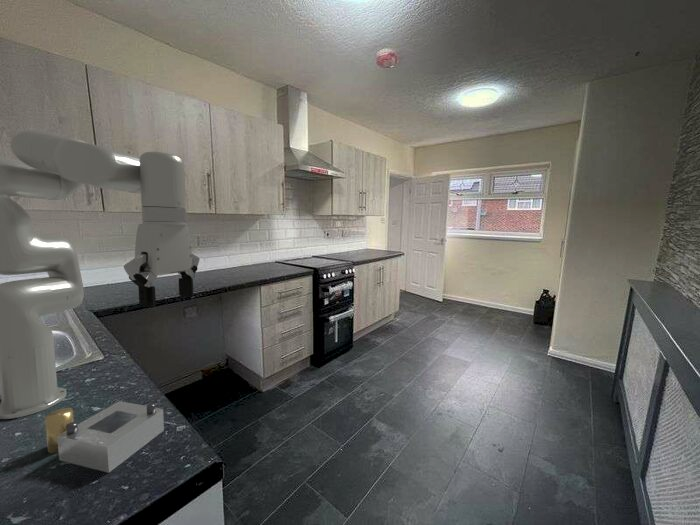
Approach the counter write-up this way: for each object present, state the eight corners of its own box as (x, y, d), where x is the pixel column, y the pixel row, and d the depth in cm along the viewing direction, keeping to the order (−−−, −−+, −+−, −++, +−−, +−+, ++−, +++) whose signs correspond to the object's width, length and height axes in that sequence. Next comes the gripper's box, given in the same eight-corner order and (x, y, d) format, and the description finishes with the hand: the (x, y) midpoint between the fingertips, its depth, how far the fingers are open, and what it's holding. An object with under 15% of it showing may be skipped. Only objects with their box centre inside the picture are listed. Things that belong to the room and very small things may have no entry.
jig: (59, 460, 56) (56, 427, 56) (120, 421, 68) (119, 394, 67) (108, 472, 54) (106, 439, 53) (164, 430, 65) (162, 402, 65)
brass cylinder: (42, 450, 59) (39, 417, 58) (65, 437, 62) (63, 406, 62) (57, 454, 58) (54, 421, 57) (80, 440, 62) (77, 409, 61)
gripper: (182, 219, 68) (184, 292, 70) (106, 214, 51) (112, 310, 53) (210, 219, 67) (212, 294, 68) (141, 215, 50) (146, 313, 52)
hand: (168, 301), depth 61 cm, fingers open, 9 cm apart
